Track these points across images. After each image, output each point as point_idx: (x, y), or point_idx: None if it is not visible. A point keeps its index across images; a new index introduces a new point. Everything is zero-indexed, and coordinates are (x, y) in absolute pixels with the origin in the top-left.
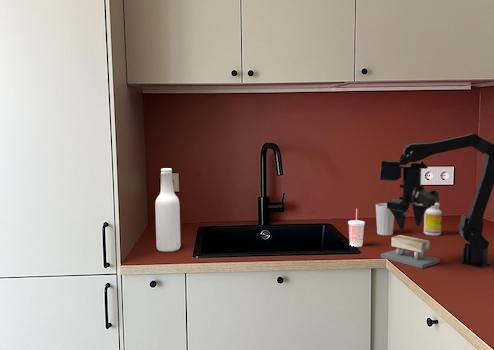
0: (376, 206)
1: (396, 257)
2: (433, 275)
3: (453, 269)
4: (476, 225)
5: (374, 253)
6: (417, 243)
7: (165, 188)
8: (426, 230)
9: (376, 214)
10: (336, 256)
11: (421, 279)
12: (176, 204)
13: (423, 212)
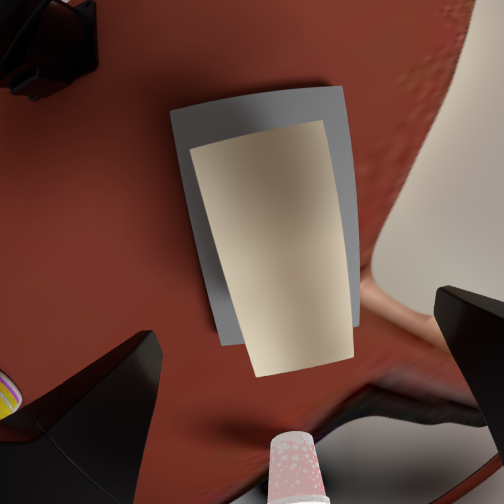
0: None
1: (351, 249)
2: (365, 8)
3: (209, 10)
4: None
5: (325, 365)
6: (328, 155)
7: None
8: (14, 399)
9: None
10: (445, 375)
11: (437, 21)
12: None
13: (38, 422)
